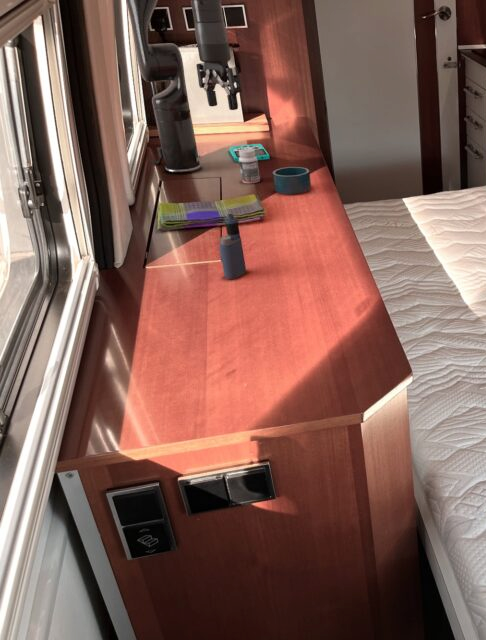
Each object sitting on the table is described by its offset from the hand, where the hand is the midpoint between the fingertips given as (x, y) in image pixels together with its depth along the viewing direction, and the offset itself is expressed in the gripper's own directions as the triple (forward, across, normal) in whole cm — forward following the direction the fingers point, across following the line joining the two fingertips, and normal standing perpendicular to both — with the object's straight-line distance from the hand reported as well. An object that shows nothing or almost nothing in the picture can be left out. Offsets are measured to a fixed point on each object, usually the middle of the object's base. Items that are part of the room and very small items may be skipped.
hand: (223, 107), depth 212 cm
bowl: (+19, -20, -3) cm, 28 cm away
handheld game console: (+19, +20, -21) cm, 35 cm away
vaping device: (+20, -56, +43) cm, 73 cm away
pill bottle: (+19, -4, -2) cm, 20 cm away
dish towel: (+20, -21, +23) cm, 37 cm away
